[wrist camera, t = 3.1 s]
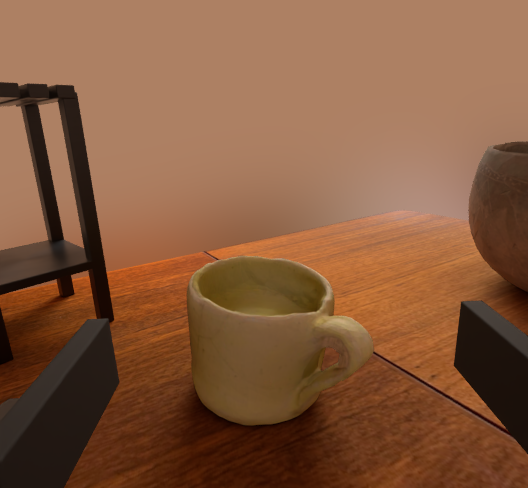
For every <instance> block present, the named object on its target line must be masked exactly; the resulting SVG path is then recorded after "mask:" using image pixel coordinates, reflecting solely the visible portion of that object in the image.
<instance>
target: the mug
mask: <svg viewBox="0 0 528 488" xmlns="http://www.w3.org/2000/svg"><path fill="white" fill-rule="evenodd" d="M187 309H188V322H189V332H190V346H191V354H192V364H191V367H192V377H193V382H194V386H195V390H196V392H197V394H198V397H199V398H200V400H201V402H202V404H204V405H205V406H206V407H207V408H208V409H209V410H211V411H212V412H214V413H215V414H216V415H218V416H220V417H223V418H225V419H226V420H228V421H231V422H235V423H239V424H242V425H252V426H253V425H263V424H276V423H279V422H283V421H286V420H290V419H292V418H295V417H297V416H299V415H300V414H301V413H303V412H304V411H305V410H306V409H308V408H309V407H310V406H311V405H312V404H313V403H314V402H315V401H316V400H317V399H318V397H319V395H320V393H321V391H323V390H325V389H327V388H329V387H332V386H334V385H336V384H337V383H339V382H340V381H343V380H345V379H346V378H348V377H349V376H351V375H352V374H353V373H354V372H356V371H357V370H358V369H359V368H360V367H362V366H363V365H364V364H365V363H366V362H367V361H368V360H369V359H370V357H371V355H372V353H373V351H374V347H373V340H372V338H371V336H370V335H369V333H368V331H367V330H366V329H365V328H364V327H363V326H361V325H360V324H359V323H358V322H356V321H355V320H353V319H352V318H350V317H346V316H333V313H334V295H333V290H332V287H331V285H330V283H329V282H328V281H327V279H326V278H324V277H323V276H322V275H321V274H319V273H318V272H316V271H315V270H313V269H311V268H309V267H307V266H305V265H303V264H300V263H298V262H294V261H291V260H287V259H284V258H281V259H269V258H263V257H258V256H238V257H233V258H228V259H224V260H218V261H216V262H214V263H209V264H207V265H205V266H203V267H202V268H201V269H200V270H198V271H196V272H195V273H194V274H193V276H192V277H191V279H190V282H189V284H188V288H187ZM326 347H331V348H333V349H334V350H336V351H337V352H338V353H339V354H340V355H339V361H338V363H336V364H335V365H333V366H331V367H329V368H327V369H325V370H324V371H321V367H322V362H323V358H324V353H325V348H326Z"/></svg>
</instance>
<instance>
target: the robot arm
mask: <svg viewBox="0 0 528 488" xmlns="http://www.w3.org/2000/svg"><path fill="white" fill-rule="evenodd" d="M454 366H455V368H456V369H457V370H458V371H459V372H460V374H461V375H462V376H463V377H464V378H465V380H466V381H467V382H468V383H469V384H470V385H471V387H472V388H473V389H474V390H475V391H476V393H477V394H478V395H479V396H480V397H481V399H482V400H483V401H484V402H485V403H486V405H487V406H488V407H489V408H490V409H491V411H492V412H493V413H494V414H495V415H496V417H497V418H498V419H499V420H500V421H501V423H502V424H503V425H504V426H505V427H506V429H507V430H508V431H509V432H510V433H511V435H512V436H513V437H514V438H515V439H516V441H517V442H518V443H519V444H520V445H521V447H522V448H523V449H524V450H525V451H526V453H527V454H528V336H527V335H526V334H525V333H523V332H522V331H521V330H519V329H518V328H517V327H515V326H514V325H513V324H512V323H510V322H509V321H508V320H506V319H505V318H504V317H502V316H501V315H500V314H498V313H497V312H496V311H495V310H493V309H492V308H491V307H489V306H488V305H487V304H485V303H484V302H483V301H464V302H461V309H460V317H459V326H458V334H457V343H456V352H455V360H454ZM118 384H119V377H118V371H117V366H116V360H115V354H114V348H113V343H112V337H111V331H110V325H109V319H108V318H107V319H87V321H86V322H85V323H84V324H83V325H82V326H81V328H80V329H79V330H78V331H77V332H76V333H75V335H74V336H73V337H72V338H71V339H70V340H69V341H68V343H67V344H66V345H65V346H64V347H63V348H62V350H61V351H60V352H59V353H58V354H57V355H56V357H55V358H54V359H53V360H52V361H51V362H50V364H49V365H48V366H47V367H46V368H45V369H44V370H43V372H42V373H41V374H40V375H39V376H38V377H37V379H36V380H35V381H34V382H33V383H32V384H31V386H30V387H29V388H28V389H27V390H26V391H25V393H24V394H23V395H22V396H21V397H20V398H16V399H8V400H7V401H5V402H4V403H2V404H1V405H0V488H64V486H65V485H66V483H67V481H68V479H69V477H70V475H71V473H72V471H73V469H74V467H75V466H76V464H77V462H78V460H79V458H80V456H81V454H82V452H83V450H84V448H85V447H86V445H87V443H88V441H89V439H90V437H91V435H92V433H93V431H94V429H95V428H96V426H97V424H98V422H99V420H100V418H101V416H102V414H103V412H104V410H105V409H106V407H107V405H108V403H109V401H110V399H111V397H112V395H113V393H114V391H115V390H116V388H117V386H118Z"/></svg>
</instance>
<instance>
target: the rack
mask: <svg viewBox="0 0 528 488" xmlns="http://www.w3.org/2000/svg"><path fill="white" fill-rule="evenodd" d="M54 102H58V103H59V109H60V115H61V120H62V126H63V131H64V137H65V143H66V148H67V154H68V160H69V165H70V171H71V176H72V182H73V188H74V193H75V199H76V204H77V210H78V216H79V221H80V226H81V232H82V238H83V244H84V248H81V247H79V246H77V245H74V244H72V243H70V242H68V241H66V240H64V237H63V233H62V227H61V221H60V216H59V211H58V206H57V201H56V196H55V190H54V185H53V180H52V175H51V170H50V165H49V160H48V155H47V150H46V144H45V139H44V134H43V129H42V124H41V118H40V113H39V108H38V105H42V104H48V103H54ZM13 105H16V106H21V109H22V113H23V118H24V123H25V128H26V133H27V138H28V143H29V148H30V152H31V157H32V162H33V167H34V172H35V177H36V182H37V186H38V191H39V196H40V201H41V205H42V211H43V216H44V221H45V225H46V230H47V235H48V240H47V241H43V242H39V243H33V244H29V245H24V246H19V247H15V248H11V249H5V250H1V251H0V295H2V294H5V293H9V292H13V291H16V290H19V289H23V288H27V287H30V286H34V285H37V284H41V283H44V282H48V281H52V280H55V279H57V284H58V289H59V293H60V295H61V296H63V297H66V296H69V295H72V294H74V289H73V283H72V278H71V275H73V274H76V273H80V272H83V271H87V270H88V272H89V277H90V283H91V288H92V294H93V299H94V305H95V311H96V316H97V319H107V318H108V319H109V322H110V321H113V320H114V315H113V309H112V303H111V297H110V291H109V285H108V279H107V273H106V267H105V260H104V255H103V249H102V242H101V237H100V230H99V224H98V218H97V212H96V206H95V200H94V194H93V188H92V182H91V176H90V170H89V164H88V158H87V152H86V145H85V139H84V133H83V128H82V121H81V115H80V109H79V103H78V97H77V93H76V92H75V91H74V86H72V85H54V86H50V87H47V84H25V85H21V86H18V84H17V83H4V82H0V106H13ZM10 360H13V355H12V351H11V347H10V343H9V340H8V336H7V332H6V328H5V324H4V320H3V316H2V312H1V308H0V364H2V363H5V362H7V361H10Z"/></svg>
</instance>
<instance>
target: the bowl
mask: <svg viewBox="0 0 528 488" xmlns="http://www.w3.org/2000/svg"><path fill="white" fill-rule="evenodd" d="M469 224H470V228H471V234H472V236H473V239H474V242H475V244H476V247H477V249H478V250H479V252H480V254H481V255H482V257H483V258H484V260H485V261H486V262H487V263H488V264H489V265H490V266H491V268H492V269H494V270H495V271H496V272H497V273H498V274H500V275H501V276H502V277H503V278H504V279H506V280H507V281H509V282H510V283H511V284H513V285H515V286H517V287H519V288H520V289H522V290H524V291H526V292H528V142H511V143H505V144H501V145H493V146H490V147H488V148H487V150H486V151H485V153H484V155H483V157H482V159H481V161H480V163H479V166H478V169H477V172H476V175H475V178H474V181H473V185H472V189H471V193H470V198H469Z"/></svg>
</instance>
